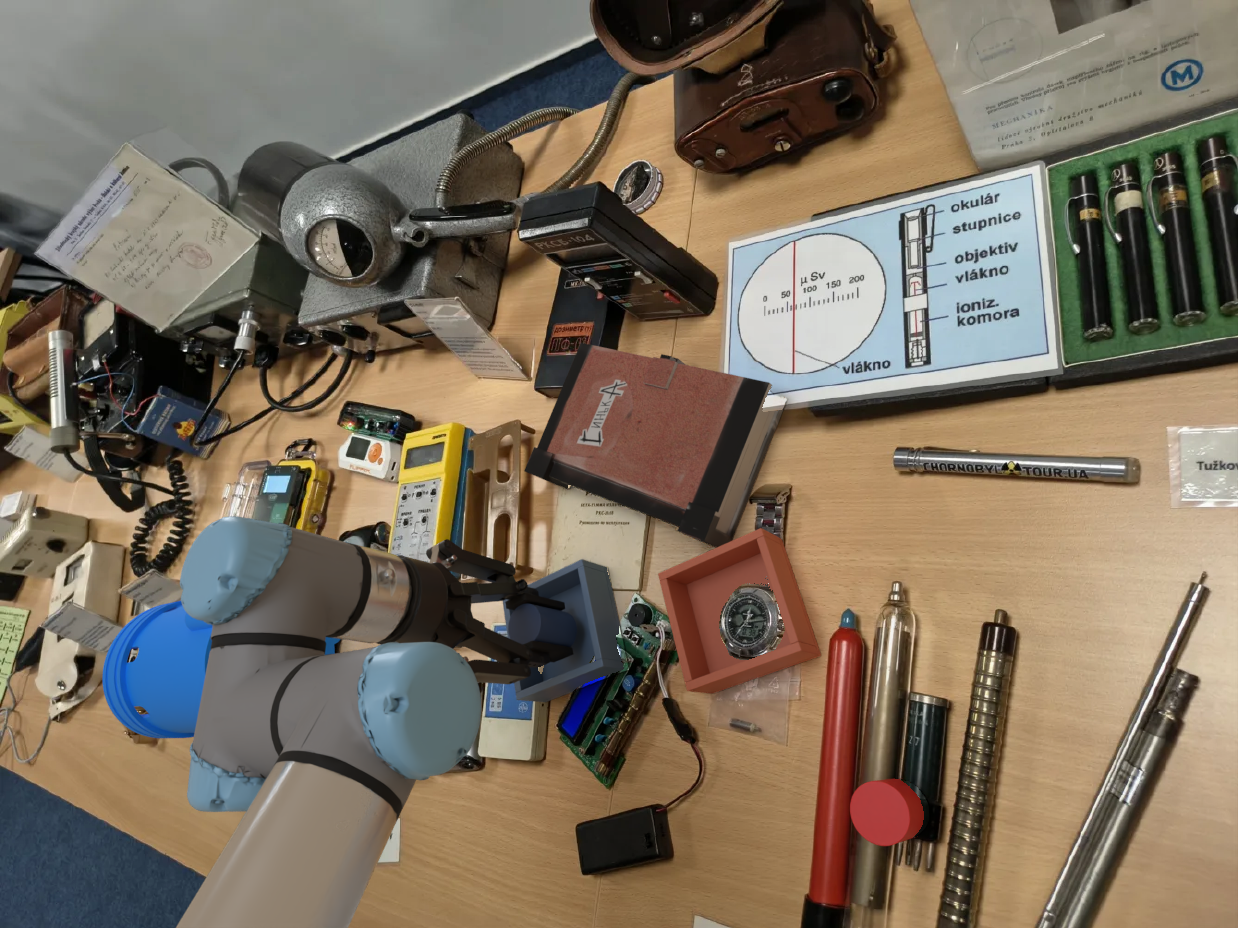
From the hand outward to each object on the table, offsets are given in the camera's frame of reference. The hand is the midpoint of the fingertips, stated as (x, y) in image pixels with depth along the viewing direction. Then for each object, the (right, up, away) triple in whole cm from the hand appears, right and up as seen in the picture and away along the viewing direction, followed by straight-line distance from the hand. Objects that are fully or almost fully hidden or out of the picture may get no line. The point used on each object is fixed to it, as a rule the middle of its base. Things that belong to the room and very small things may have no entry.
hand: (558, 631), depth 81 cm
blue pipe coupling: (-43, -13, +31) cm, 54 cm away
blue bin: (+2, -1, +2) cm, 3 cm away
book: (+11, +20, +4) cm, 24 cm away
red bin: (+19, +3, -8) cm, 21 cm away
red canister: (+29, -10, -21) cm, 37 cm away
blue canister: (0, 0, 0) cm, 0 cm away
